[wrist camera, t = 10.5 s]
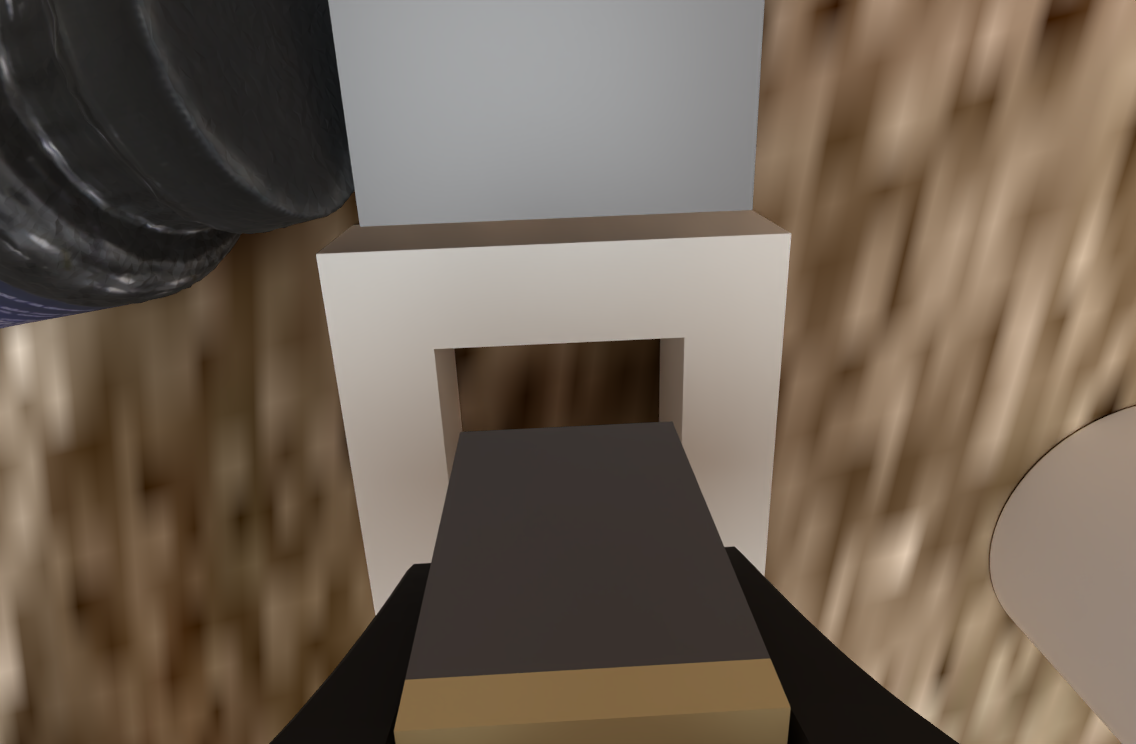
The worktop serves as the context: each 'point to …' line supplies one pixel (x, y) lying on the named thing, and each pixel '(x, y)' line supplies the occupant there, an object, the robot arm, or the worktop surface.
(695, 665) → the plug
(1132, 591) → the cup
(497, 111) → the grey square block
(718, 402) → the socket
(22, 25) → the pill bottle
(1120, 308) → the worktop surface
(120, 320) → the worktop surface
